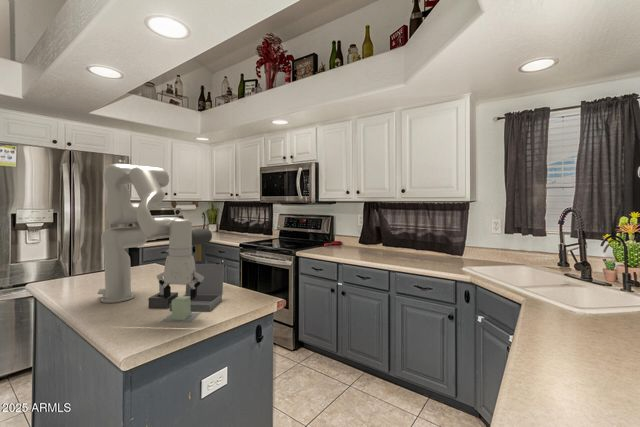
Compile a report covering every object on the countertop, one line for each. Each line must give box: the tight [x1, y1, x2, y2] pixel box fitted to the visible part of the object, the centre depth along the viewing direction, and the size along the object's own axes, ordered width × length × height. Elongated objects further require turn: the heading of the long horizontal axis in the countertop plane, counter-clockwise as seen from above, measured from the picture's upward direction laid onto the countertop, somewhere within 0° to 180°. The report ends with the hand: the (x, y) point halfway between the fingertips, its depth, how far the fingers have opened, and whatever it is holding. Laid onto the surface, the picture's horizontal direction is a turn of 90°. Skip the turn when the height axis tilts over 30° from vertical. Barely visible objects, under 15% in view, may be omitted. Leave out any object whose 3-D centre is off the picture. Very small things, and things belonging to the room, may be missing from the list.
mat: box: [160, 312, 202, 323], centre depth 113 cm, size 11×9×1 cm
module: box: [171, 295, 192, 320], centre depth 113 cm, size 4×5×7 cm
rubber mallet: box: [192, 228, 213, 264], centre depth 148 cm, size 12×8×30 cm, turn 159°
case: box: [169, 293, 223, 312], centre depth 126 cm, size 16×13×3 cm
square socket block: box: [148, 291, 179, 309], centre depth 126 cm, size 8×8×4 cm
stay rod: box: [158, 282, 164, 297], centre depth 126 cm, size 3×3×10 cm
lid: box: [185, 263, 225, 296], centre depth 134 cm, size 16×13×1 cm
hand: (180, 298), depth 113 cm, fingers open, 9 cm apart
